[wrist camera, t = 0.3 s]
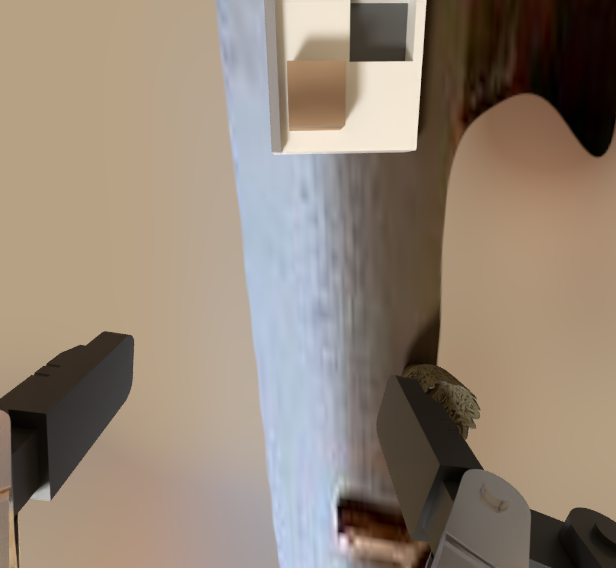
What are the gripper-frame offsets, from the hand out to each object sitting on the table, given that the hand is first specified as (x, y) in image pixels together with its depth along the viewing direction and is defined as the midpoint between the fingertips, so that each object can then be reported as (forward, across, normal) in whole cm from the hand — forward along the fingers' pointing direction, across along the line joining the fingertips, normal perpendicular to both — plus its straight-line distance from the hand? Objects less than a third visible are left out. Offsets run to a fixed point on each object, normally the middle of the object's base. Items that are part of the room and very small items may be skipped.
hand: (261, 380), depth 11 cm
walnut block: (+23, -1, -12) cm, 26 cm away
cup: (+26, -18, +13) cm, 34 cm away
